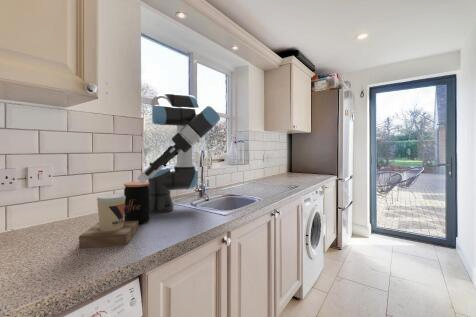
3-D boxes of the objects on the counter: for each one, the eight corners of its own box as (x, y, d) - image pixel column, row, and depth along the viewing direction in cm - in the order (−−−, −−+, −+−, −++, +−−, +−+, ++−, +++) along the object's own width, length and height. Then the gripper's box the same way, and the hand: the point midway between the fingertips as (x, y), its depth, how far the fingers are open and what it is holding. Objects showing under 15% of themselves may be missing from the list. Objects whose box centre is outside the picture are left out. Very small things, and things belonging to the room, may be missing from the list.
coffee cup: (113, 233, 80) (113, 199, 80) (90, 230, 82) (90, 197, 82) (131, 224, 89) (130, 194, 89) (110, 222, 91) (110, 193, 91)
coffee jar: (119, 223, 103) (118, 183, 102) (138, 217, 112) (138, 180, 112) (135, 227, 98) (135, 185, 97) (154, 220, 108) (154, 182, 107)
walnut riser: (99, 231, 92) (99, 222, 92) (138, 230, 94) (138, 220, 94) (79, 247, 77) (78, 236, 77) (126, 245, 80) (126, 234, 79)
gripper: (191, 146, 75) (143, 191, 74) (194, 145, 100) (158, 179, 99) (174, 130, 74) (126, 175, 73) (181, 133, 99) (145, 167, 98)
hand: (144, 178), depth 86 cm, fingers open, 13 cm apart
